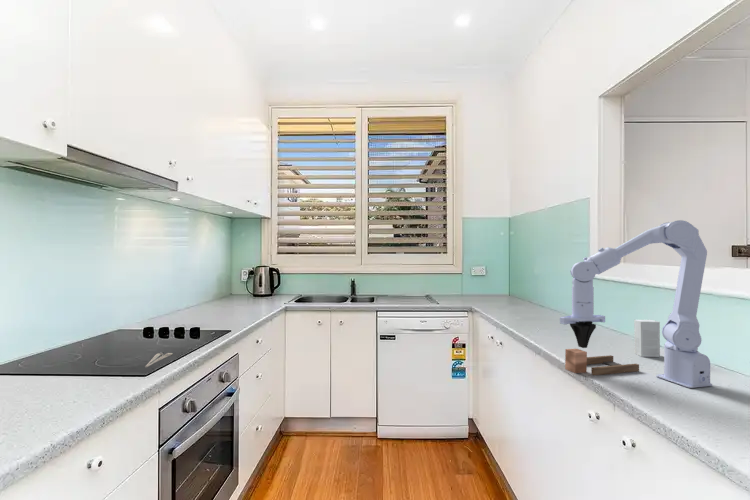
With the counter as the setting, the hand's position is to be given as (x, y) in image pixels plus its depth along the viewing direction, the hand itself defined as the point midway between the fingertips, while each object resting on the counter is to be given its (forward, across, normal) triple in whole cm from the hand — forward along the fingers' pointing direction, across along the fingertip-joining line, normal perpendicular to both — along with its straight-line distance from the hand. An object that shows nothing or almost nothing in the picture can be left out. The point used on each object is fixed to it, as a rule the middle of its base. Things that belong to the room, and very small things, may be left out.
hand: (582, 347), depth 114 cm
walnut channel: (+7, -7, 0) cm, 10 cm away
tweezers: (+7, +127, -38) cm, 133 cm away
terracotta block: (+7, +2, 0) cm, 7 cm away
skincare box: (+7, -33, -8) cm, 35 cm away
